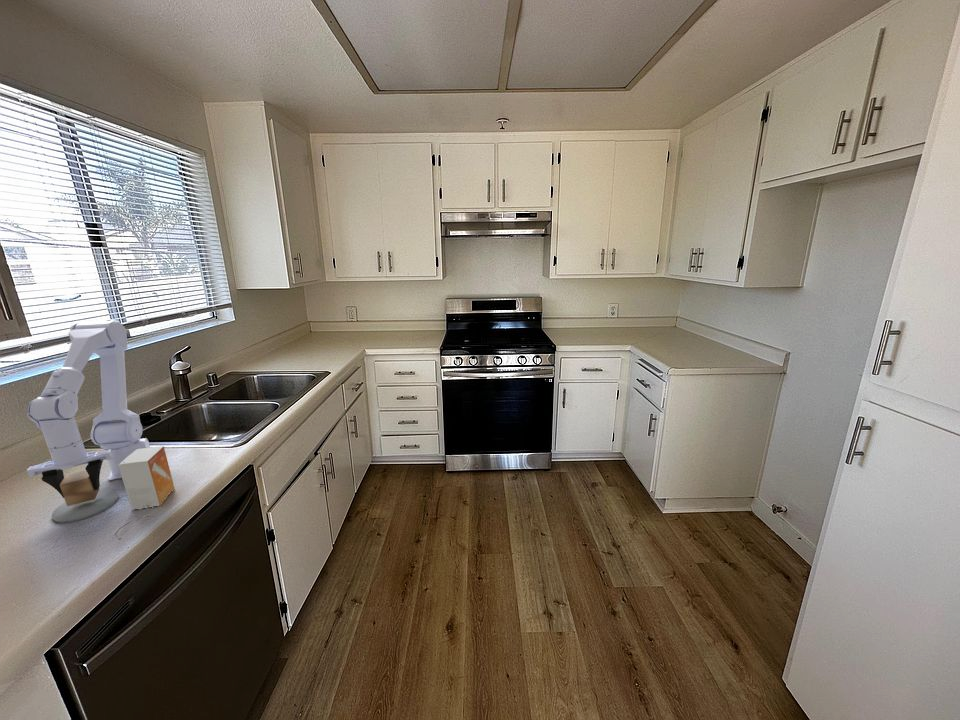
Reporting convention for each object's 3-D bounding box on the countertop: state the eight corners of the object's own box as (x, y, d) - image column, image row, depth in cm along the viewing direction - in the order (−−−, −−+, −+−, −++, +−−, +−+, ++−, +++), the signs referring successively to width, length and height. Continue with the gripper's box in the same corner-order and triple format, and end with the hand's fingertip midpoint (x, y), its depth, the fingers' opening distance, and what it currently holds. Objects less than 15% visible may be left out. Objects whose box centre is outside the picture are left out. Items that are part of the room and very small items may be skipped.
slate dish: (122, 487, 107) (121, 484, 107) (113, 510, 98) (112, 507, 98) (61, 502, 101) (60, 499, 101) (45, 529, 92) (44, 525, 91)
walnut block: (99, 489, 102) (92, 469, 100) (95, 499, 98) (87, 478, 96) (73, 496, 99) (65, 475, 98) (67, 506, 95) (59, 484, 94)
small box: (160, 506, 99) (147, 461, 95) (131, 511, 97) (116, 464, 94) (175, 488, 107) (164, 445, 103) (148, 492, 105) (135, 448, 101)
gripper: (14, 459, 87) (34, 511, 91) (101, 441, 95) (117, 489, 99) (26, 446, 93) (45, 495, 97) (107, 430, 101) (122, 476, 105)
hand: (82, 491), depth 98 cm, fingers closed on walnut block, 5 cm apart
